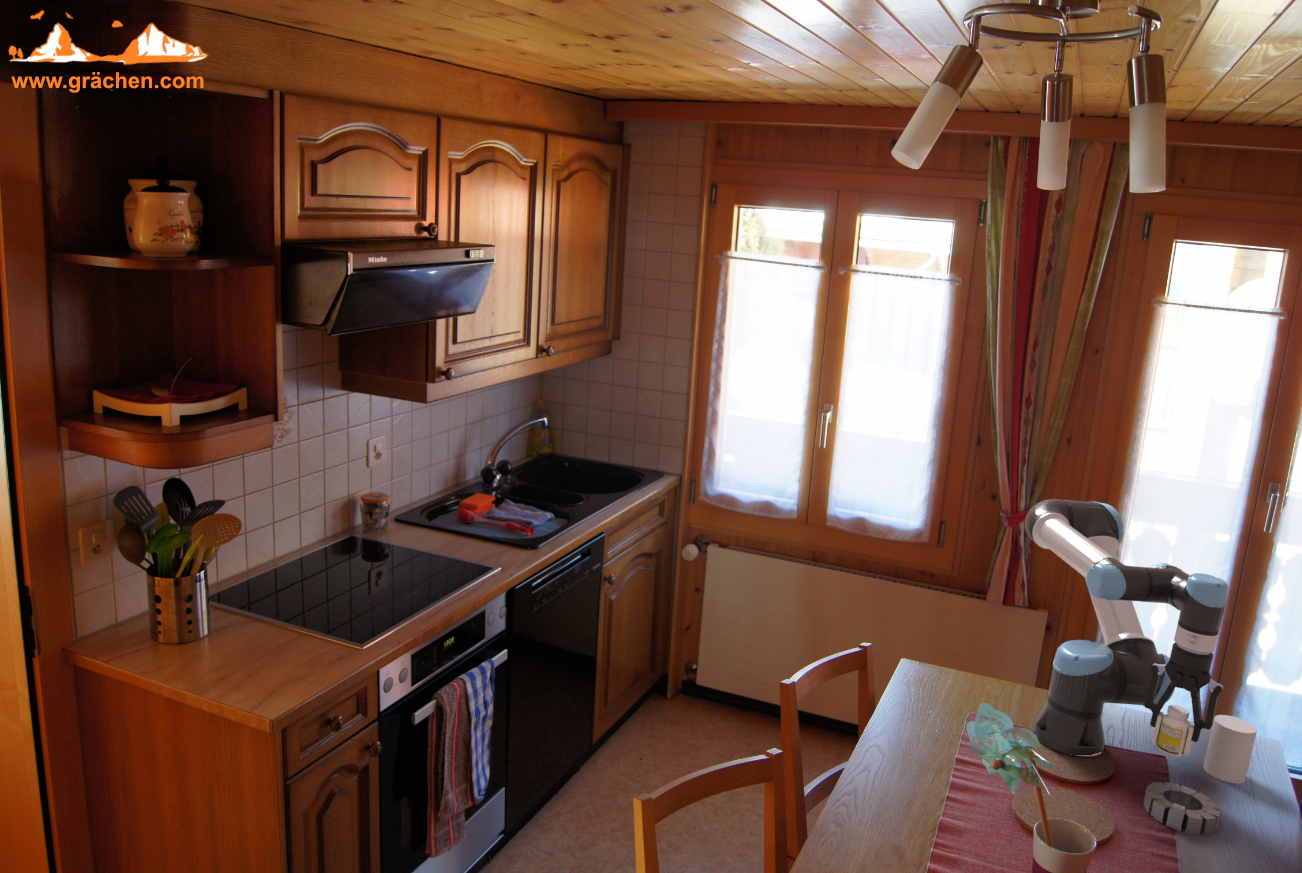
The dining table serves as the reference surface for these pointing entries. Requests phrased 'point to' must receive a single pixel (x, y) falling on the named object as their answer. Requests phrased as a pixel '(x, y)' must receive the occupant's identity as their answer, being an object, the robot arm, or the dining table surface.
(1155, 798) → the grey segmented ring
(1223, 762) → the white cylinder
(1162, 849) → the dining table surface
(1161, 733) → the supplement bottle
